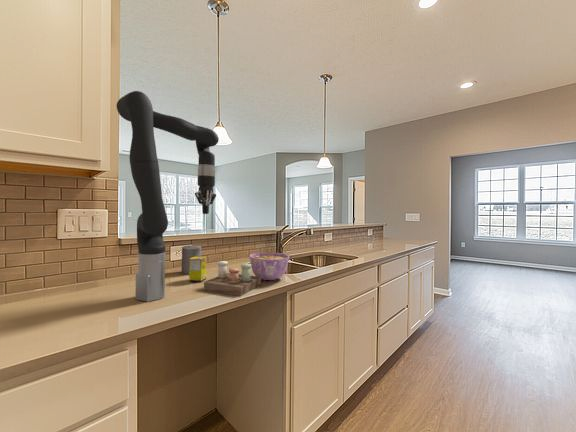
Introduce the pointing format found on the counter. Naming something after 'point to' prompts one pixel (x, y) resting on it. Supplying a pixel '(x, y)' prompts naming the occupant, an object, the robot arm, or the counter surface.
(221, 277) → the white shaker
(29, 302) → the counter surface
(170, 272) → the counter surface
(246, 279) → the pale green shaker
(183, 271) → the pillar candle
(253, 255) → the bowl of food
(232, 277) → the terracotta shaker
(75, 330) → the counter surface
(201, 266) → the supplement box
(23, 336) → the counter surface
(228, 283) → the walnut board
